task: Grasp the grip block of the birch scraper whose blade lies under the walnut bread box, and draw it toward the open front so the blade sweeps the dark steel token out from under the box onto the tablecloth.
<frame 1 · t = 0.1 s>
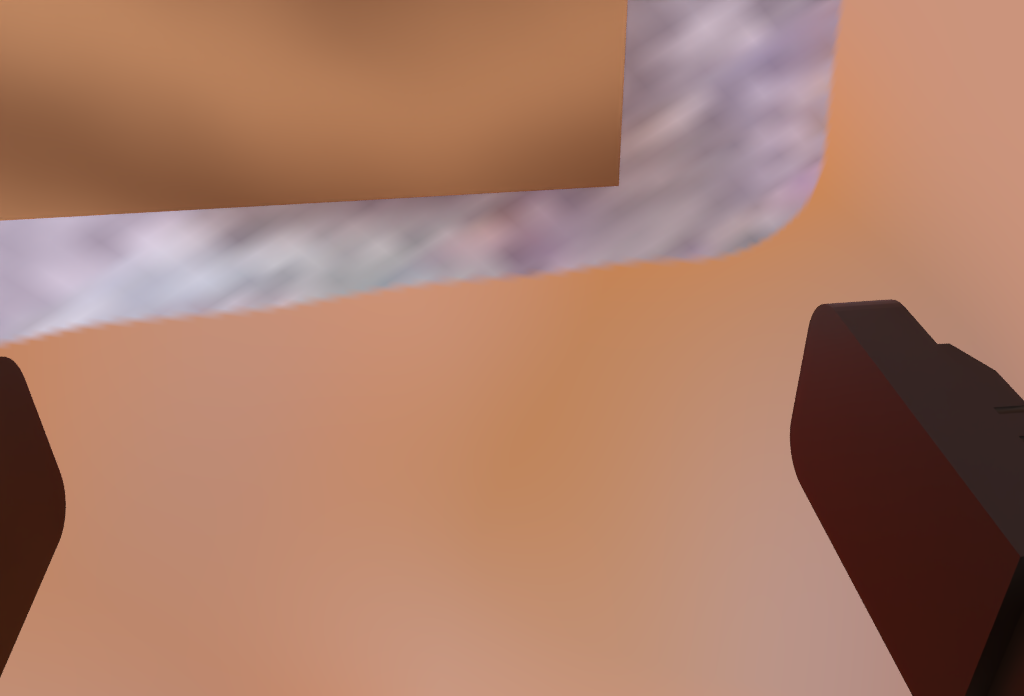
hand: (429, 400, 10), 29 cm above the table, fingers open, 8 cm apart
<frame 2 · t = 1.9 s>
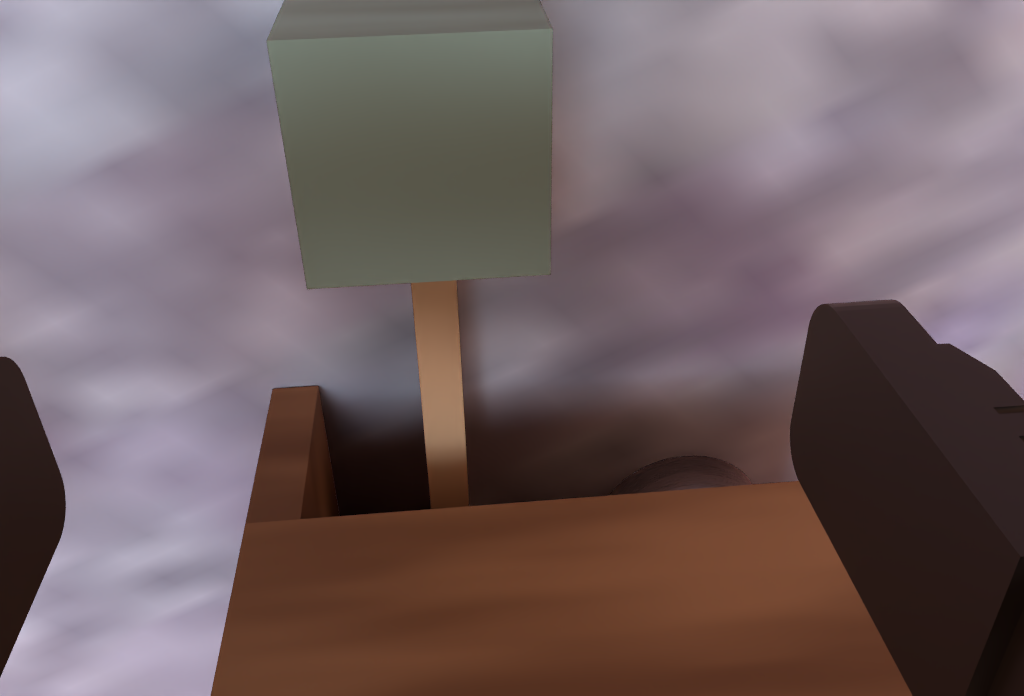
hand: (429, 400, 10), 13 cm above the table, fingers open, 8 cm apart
scraper: (417, 38, 20), on the table
bread box: (550, 551, 29), on the table
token: (677, 514, 29), on the table
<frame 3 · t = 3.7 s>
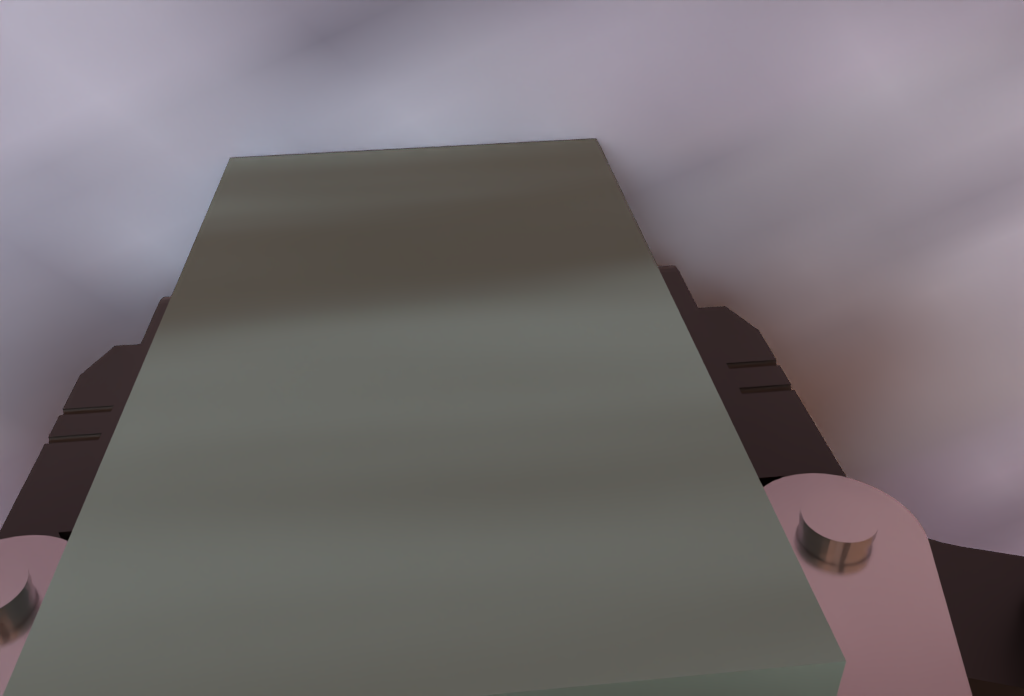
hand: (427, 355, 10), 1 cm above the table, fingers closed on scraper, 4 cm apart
scraper: (428, 305, 11), on the table, touching gripper
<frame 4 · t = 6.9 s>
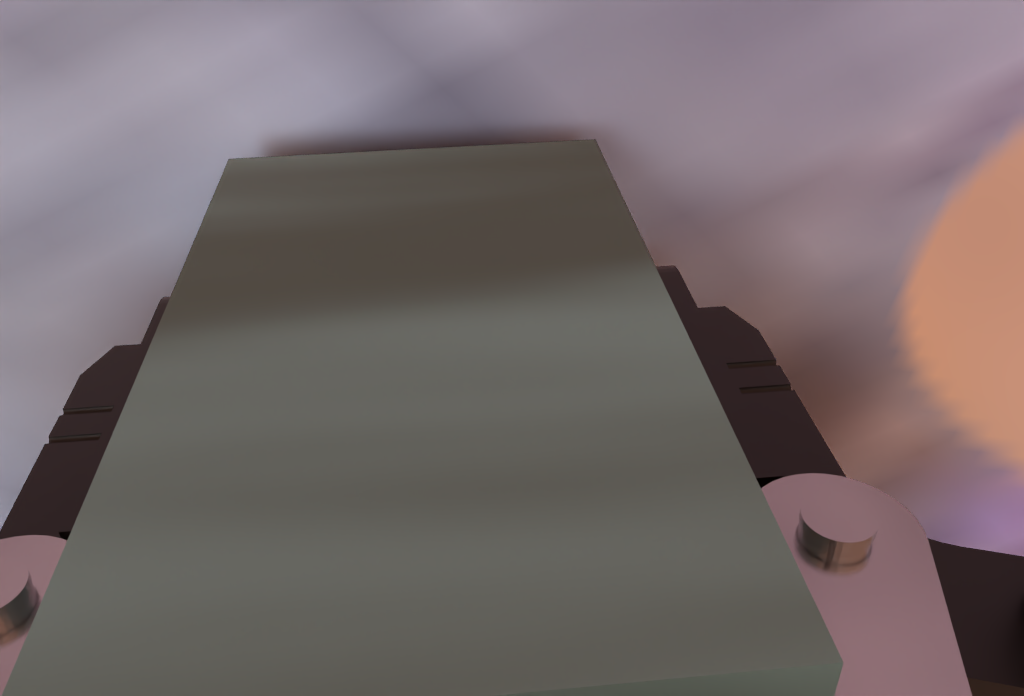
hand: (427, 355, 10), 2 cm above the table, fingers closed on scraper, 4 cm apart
scraper: (427, 306, 11), point 1 cm above the table, touching gripper, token
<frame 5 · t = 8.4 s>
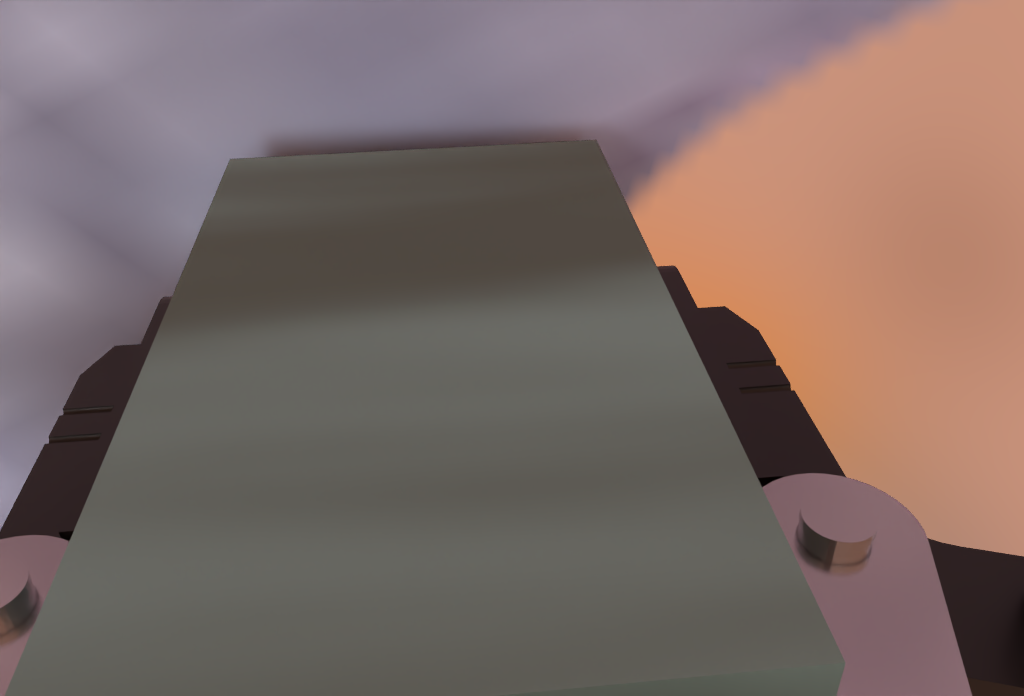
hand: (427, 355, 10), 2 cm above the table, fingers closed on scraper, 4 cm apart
scraper: (428, 306, 11), point 1 cm above the table, touching gripper
when the fingers open (1 cm above the table, at t = 9.4 s): scraper stays where it is, on the table.
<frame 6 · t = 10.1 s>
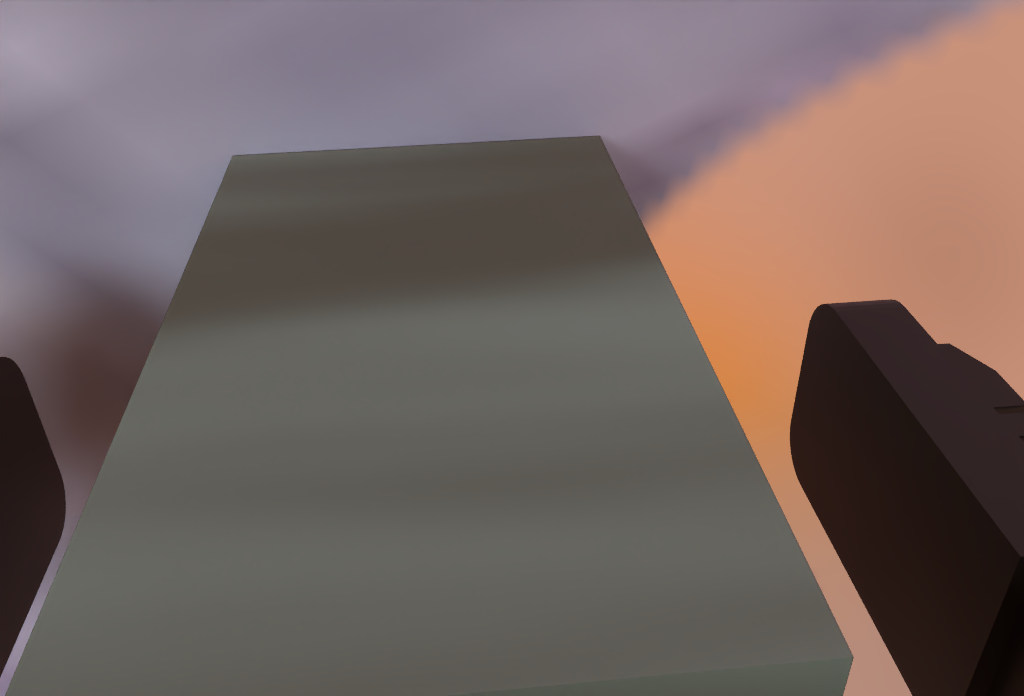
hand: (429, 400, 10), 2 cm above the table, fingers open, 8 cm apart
scraper: (431, 303, 11), on the table
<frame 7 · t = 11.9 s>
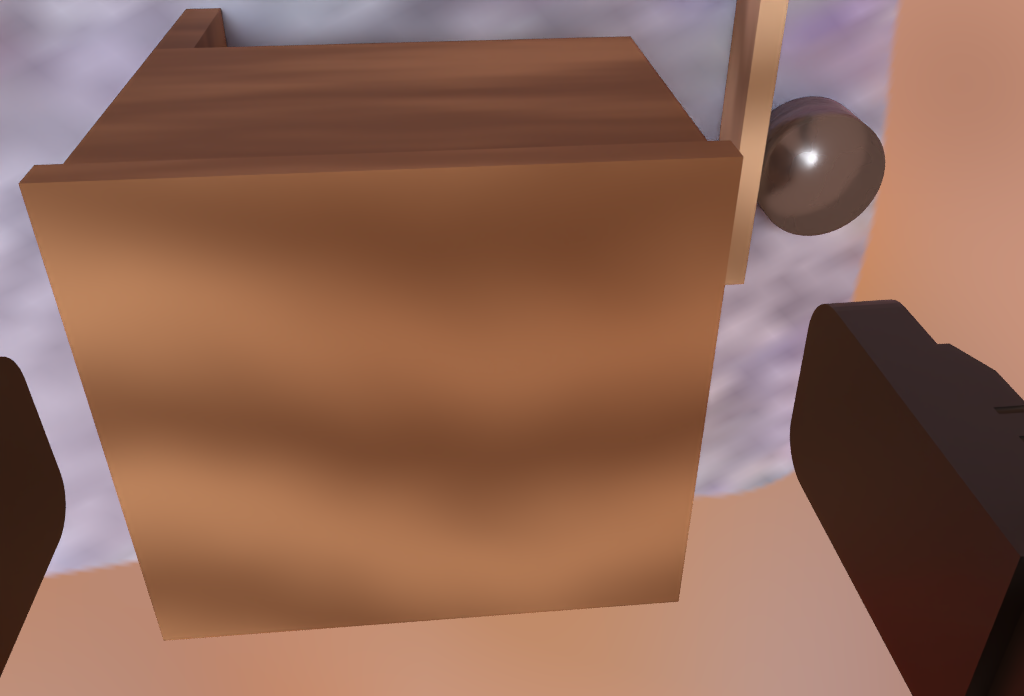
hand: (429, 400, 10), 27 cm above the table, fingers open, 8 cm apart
bread box: (410, 184, 37), on the table
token: (799, 154, 38), on the table
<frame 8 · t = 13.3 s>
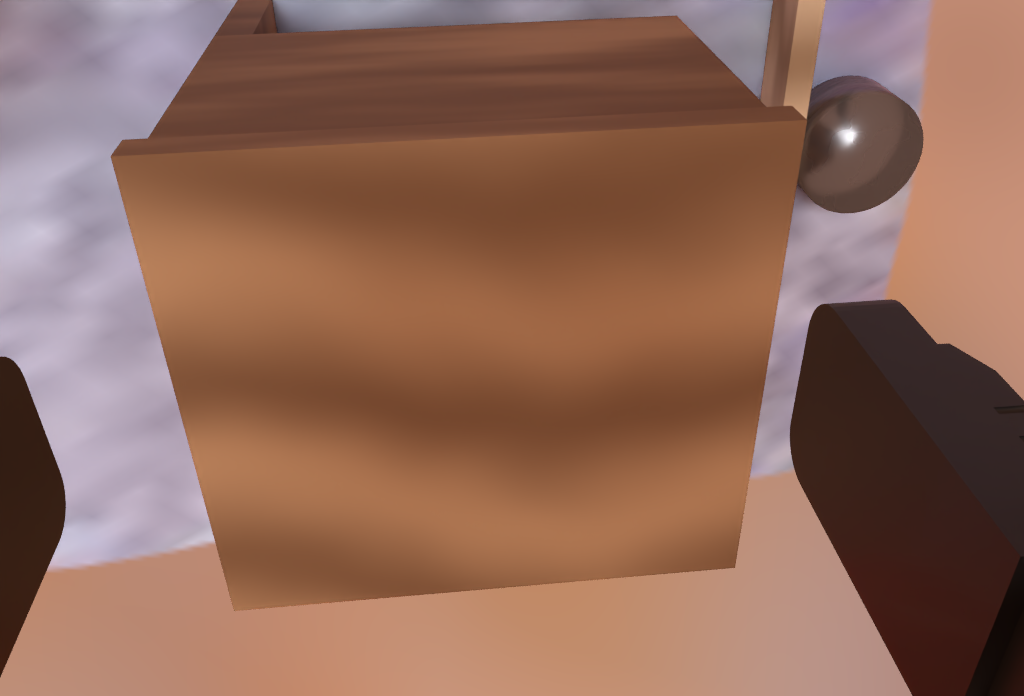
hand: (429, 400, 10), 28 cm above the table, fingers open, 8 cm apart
bread box: (454, 169, 38), on the table
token: (836, 133, 39), on the table
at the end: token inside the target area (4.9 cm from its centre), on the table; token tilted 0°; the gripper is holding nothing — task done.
